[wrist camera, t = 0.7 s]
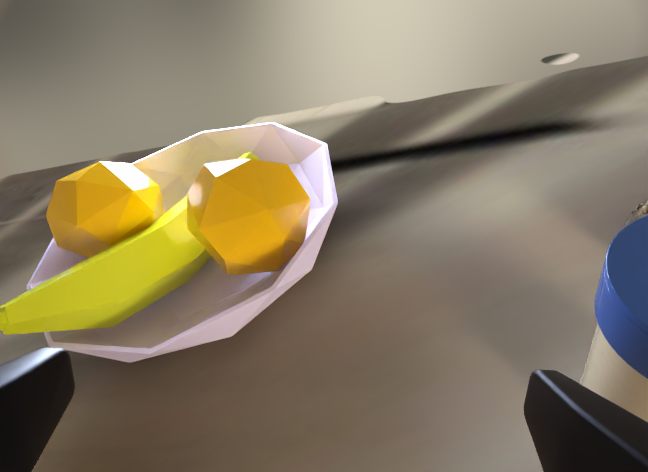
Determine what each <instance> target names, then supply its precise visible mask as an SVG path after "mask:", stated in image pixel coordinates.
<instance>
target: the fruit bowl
mask: <svg viewBox="0 0 648 472" xmlns="http://www.w3.org/2000/svg"><path fill="white" fill-rule="evenodd" d="M337 204H338V201H337V195H336V190H335V184H334V179H333V173H332V168H331V163H330V157H329V152H328V146H327V143H324V142H322V141H319V140H317V139H314V138H312V137H309V136H307V135H304V134H302V133H299V132H297V131H294V130H292V129H289V128H287V127H284V126H282V125H279V124H277V123H274V122H270V123H262V124H254V125H247V126H239V127H232V128H225V129H217V130H210V131H202V132H200V133H198V134H195V135H193V136H191V137H189V138H187V139H185V140H182V141H180V142H178V143H176V144H173V145H171V146H169V147H167V148H165V149H162V150H160V151H158V152H156V153H154V154H151V155H149V156H147V157H145V158H143V159H140V160H138V161H136V162H134V163H132V164H130V163H117V162H103V161H99V162H97V163H95V164H93V165H91V166H88V167H86V168H84V169H82V170H79V171H77V172H75V173H73V174H71V175H68V176H66V177H64V178H62V179H59V180H57V181H56V184H55V187H54V190H53V194H52V197H51V200H50V203H49V207H48V210H47V213H46V217H47V220H48V223H49V226H50V229H51V231H52V234H53V239H52V241H51V242H50V244H49V246H48V248H47V250H46V252H45V253H44V255H43V257H42V259H41V261H40V263H39V264H38V266H37V268H36V270H35V272H34V274H33V275H32V277H31V279H30V281H29V283H28V285H27V286H26V288H27V290H28V291H27V292H25V293H23V294H22V295H20V296H18V297H16V298H14V299H13V300H11V301H9V302H7V303H5V304H3V305H2V306H0V330H1V331H2V332H3V334H4V335H6V334H21V333H36V332H44V334H45V337H46V340H47V342H48V345H49V347H54V348H63V349H66V350H69V351H74V352H79V353H84V354H89V355H94V356H99V357H104V358H109V359H114V360H119V361H124V362H129V363H131V362H135V361H139V360H143V359H146V358H150V357H154V356H158V355H162V354H166V353H170V352H174V351H177V350H181V349H185V348H189V347H193V346H197V345H201V344H204V343H208V342H212V341H216V340H220V339H224V338H228V337H232V336H233V335H234V334H235V333H237V332H238V331H239V330H240V329H241V328H243V327H244V326H245V325H246V324H247V323H249V322H250V321H251V320H252V319H253V318H254V317H256V316H257V315H258V314H259V313H260V312H262V311H263V310H264V309H265V308H266V307H268V306H269V305H270V304H271V303H272V302H274V301H275V300H276V299H277V298H278V297H279V296H281V295H282V294H283V293H284V292H285V291H287V290H288V289H289V288H290V287H291V286H293V285H294V284H295V283H296V282H297V281H299V280H300V279H301V278H302V277H303V276H305V275H306V274H307V273H308V272H309V271H310V270H312V268H313V265H314V263H315V260H316V258H317V255H318V253H319V250H320V247H321V245H322V242H323V240H324V237H325V235H326V232H327V229H328V227H329V224H330V222H331V219H332V217H333V214H334V212H335V209H336V206H337Z"/></svg>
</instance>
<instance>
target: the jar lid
mask: <svg viewBox="0 0 648 472" xmlns="http://www.w3.org/2000/svg"><path fill="white" fill-rule="evenodd" d="M595 315H596V318H597V322H598V325H599V327H600V329H601V331H602V333H603V335H604V337H605V339H606V340H607V341H608V343H609V344H610V346H611V347H612V348H613V349H614V351H615V352H616V353H617V354H618V355H619V356H620V357H621V358H622V359H623V360H624V361H625V362H626V363H627V364H628V365H629V366H631V367H632V368H633V369H634V370H636V371H637V372H638V373H640V374H641V375H643V376H644V377H646V378H647V379H648V215H647V216H644V217H642V218H640V219H638V220H636V221H634V222H632V223H631V224H629V225H627V226H626V227H625V228H624V229H622V230H621V231H620V232H619V233H618V234H617V235H616V237H615V238H614V239H613V240H612V242H611V244H610V246H609V248H608V251H607V255H606V258H605V262H604V266H603V270H602V273H601V277H600V281H599V285H598V288H597V292H596V296H595Z"/></svg>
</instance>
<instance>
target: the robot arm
mask: <svg viewBox="0 0 648 472" xmlns="http://www.w3.org/2000/svg"><path fill="white" fill-rule="evenodd" d="M74 389H75V382H74V376H73V370H72V365H71V359H70V354H69V352H68V351H67V350H66V349H63V348H42V349H39V350H37V351H34V352H32V353H29V354H27V355H24V356H22V357H19V358H16V359H14V360H11V361H9V362H6V363H4V364H1V365H0V472H32V470H33V468H34V466H35V465H36V463H37V461H38V460H39V458H40V456H41V454H42V452H43V450H44V448H45V447H46V445H47V443H48V441H49V439H50V437H51V436H52V434H53V432H54V430H55V428H56V426H57V425H58V423H59V421H60V419H61V417H62V415H63V413H64V412H65V410H66V408H67V406H68V404H69V402H70V401H71V399H72V396H73V394H74ZM524 415H525V419H526V422H527V425H528V428H529V431H530V433H531V436H532V439H533V442H534V445H535V448H536V451H537V453H538V456H539V459H540V462H541V465H542V468H543V471H544V472H648V422H646V421H645V420H643V419H641V418H639V417H638V416H636V415H634V414H632V413H630V412H629V411H627V410H625V409H623V408H622V407H620V406H618V405H616V404H615V403H613V402H611V401H609V400H607V399H606V398H604V397H602V396H600V395H599V394H597V393H595V392H593V391H591V390H590V389H588V388H586V387H584V386H583V385H581V384H579V383H577V382H576V381H574V380H572V379H570V378H568V377H567V376H565V375H563V374H561V373H560V372H558V371H554V370H535V371H533V372H532V374H531V376H530V380H529V384H528V389H527V394H526V398H525V403H524Z"/></svg>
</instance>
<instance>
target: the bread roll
mask: <svg viewBox="0 0 648 472" xmlns="http://www.w3.org/2000/svg"><path fill="white" fill-rule="evenodd" d="M647 215H648V200H647V201H645V202H644V203H642V204H639V205H638V206H637V207H636V209H635V211H633V212H632V215H631V216H630V217H629V218H628V219H627V220H626V222H625V225H624V228H625V227H626V226H627V225H629V224H631V223H632V222H634V221H636V220H638V219H640V218H642V217H644V216H647Z"/></svg>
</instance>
